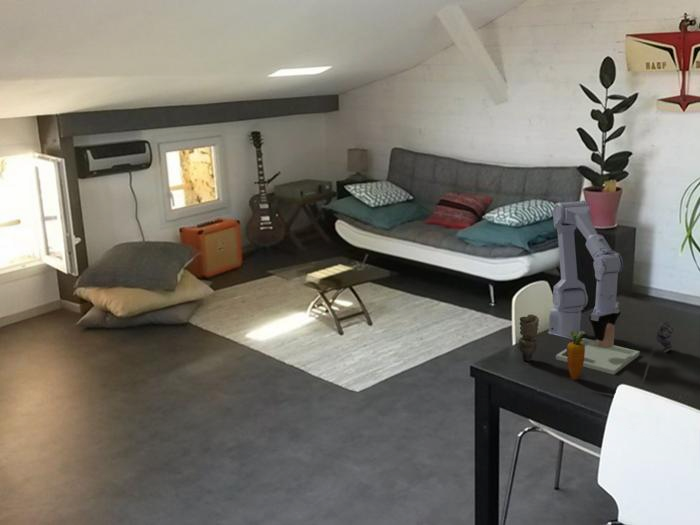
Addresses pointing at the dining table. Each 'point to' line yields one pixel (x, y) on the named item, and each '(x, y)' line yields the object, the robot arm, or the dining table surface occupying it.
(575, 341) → the carrot
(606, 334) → the tan cylinder
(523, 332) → the brown carved statue
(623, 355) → the tray
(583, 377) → the dining table surface
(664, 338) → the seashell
